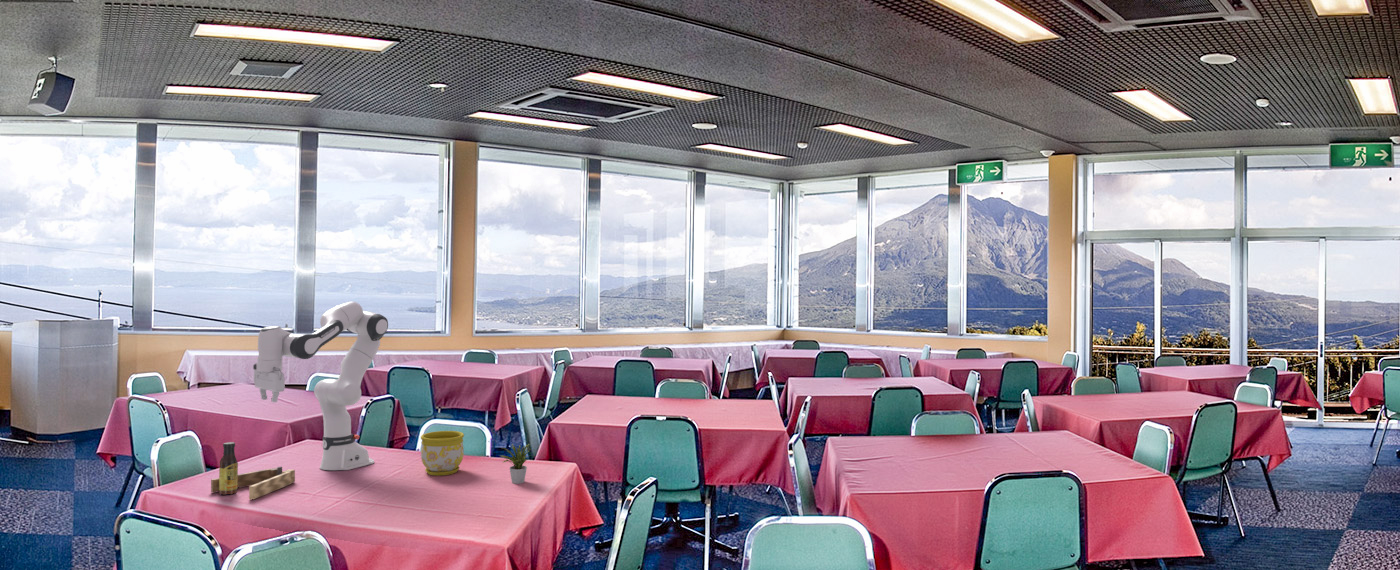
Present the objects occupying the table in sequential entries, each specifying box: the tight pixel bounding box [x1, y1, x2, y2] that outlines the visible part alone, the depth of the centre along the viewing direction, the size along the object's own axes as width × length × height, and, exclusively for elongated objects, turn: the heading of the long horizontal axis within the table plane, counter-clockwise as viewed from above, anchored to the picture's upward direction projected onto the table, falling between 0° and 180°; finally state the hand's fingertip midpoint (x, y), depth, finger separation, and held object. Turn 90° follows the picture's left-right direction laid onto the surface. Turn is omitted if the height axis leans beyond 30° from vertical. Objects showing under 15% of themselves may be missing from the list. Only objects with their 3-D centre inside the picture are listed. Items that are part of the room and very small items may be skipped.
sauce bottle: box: [218, 441, 239, 496], centre depth 313 cm, size 6×6×20 cm
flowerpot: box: [420, 430, 465, 477], centre depth 348 cm, size 18×18×16 cm
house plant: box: [498, 443, 533, 485], centre depth 335 cm, size 14×14×16 cm
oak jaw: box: [248, 469, 296, 500], centre depth 317 cm, size 26×4×5 cm, turn 172°
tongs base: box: [210, 466, 283, 493], centre depth 321 cm, size 26×8×7 cm, turn 142°
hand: (269, 400), depth 320 cm, fingers open, 8 cm apart
